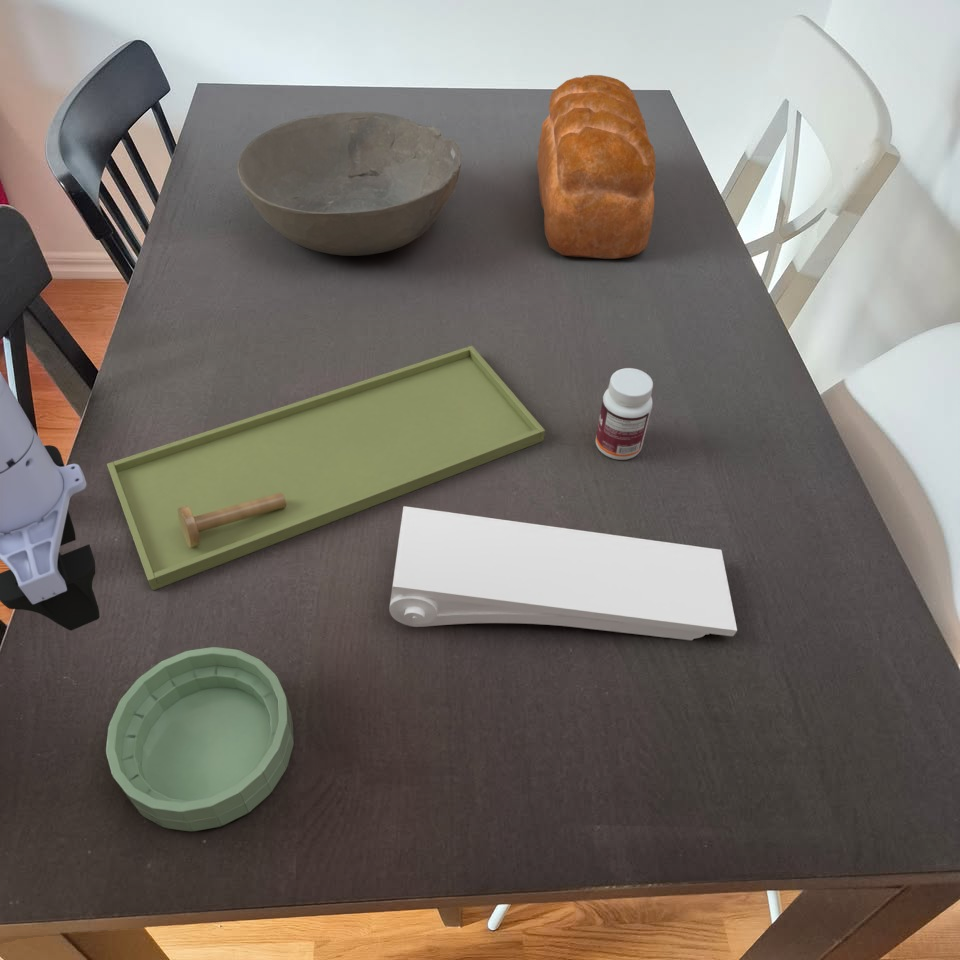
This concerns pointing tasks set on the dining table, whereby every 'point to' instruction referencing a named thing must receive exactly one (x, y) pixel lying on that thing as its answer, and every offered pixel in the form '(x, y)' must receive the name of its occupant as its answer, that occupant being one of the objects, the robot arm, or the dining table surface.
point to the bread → (596, 170)
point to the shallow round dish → (201, 738)
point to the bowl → (350, 180)
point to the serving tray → (319, 460)
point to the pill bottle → (624, 414)
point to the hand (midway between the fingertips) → (71, 580)
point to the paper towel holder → (225, 516)
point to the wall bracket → (554, 578)
